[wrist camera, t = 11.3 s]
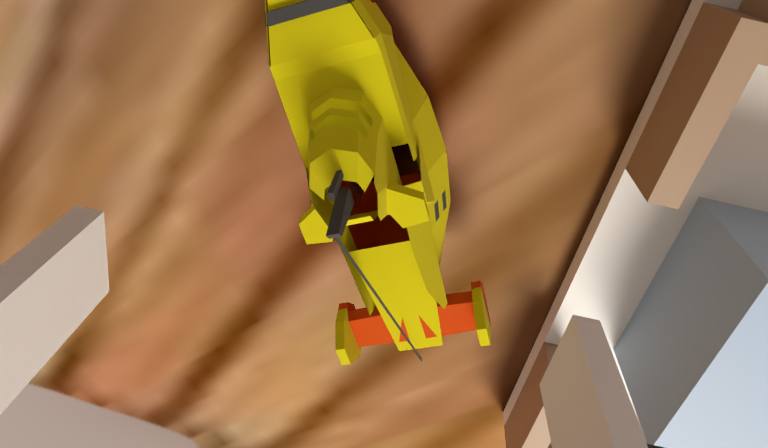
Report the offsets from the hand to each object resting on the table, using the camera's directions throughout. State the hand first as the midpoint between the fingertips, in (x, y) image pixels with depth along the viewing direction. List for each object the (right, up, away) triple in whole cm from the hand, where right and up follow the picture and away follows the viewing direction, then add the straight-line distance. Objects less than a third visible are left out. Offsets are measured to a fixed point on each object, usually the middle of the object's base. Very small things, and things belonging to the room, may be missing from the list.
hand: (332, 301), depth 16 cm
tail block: (+16, -1, +10) cm, 19 cm away
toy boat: (+1, +6, +10) cm, 11 cm away
